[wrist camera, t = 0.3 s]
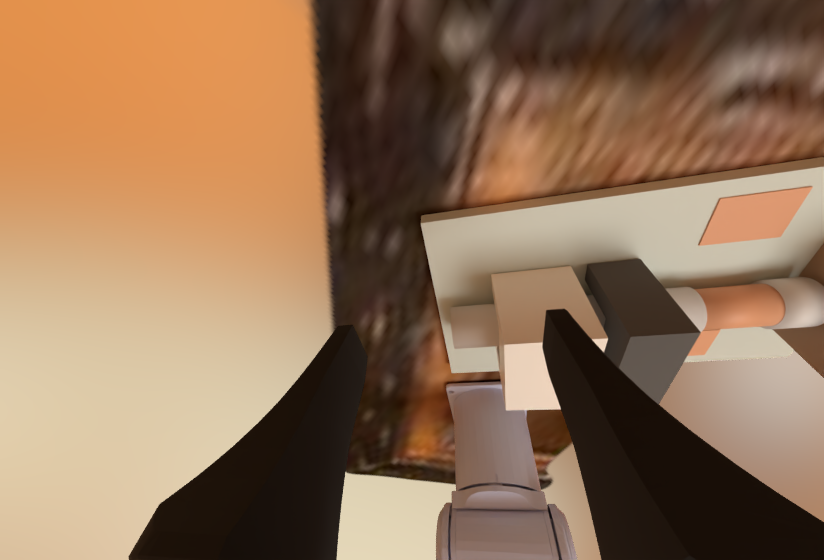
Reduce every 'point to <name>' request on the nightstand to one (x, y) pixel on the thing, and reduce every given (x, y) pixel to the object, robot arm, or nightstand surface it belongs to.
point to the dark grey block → (641, 324)
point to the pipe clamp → (653, 257)
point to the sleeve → (535, 330)
